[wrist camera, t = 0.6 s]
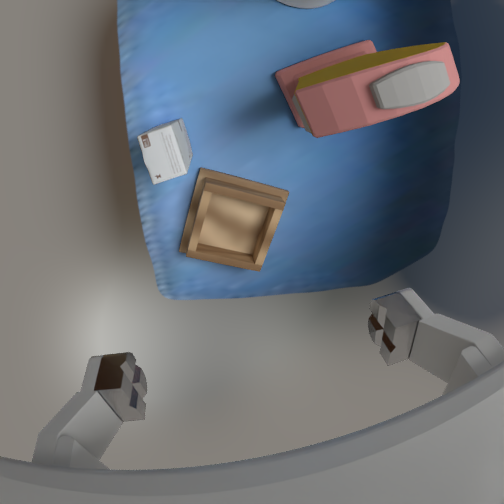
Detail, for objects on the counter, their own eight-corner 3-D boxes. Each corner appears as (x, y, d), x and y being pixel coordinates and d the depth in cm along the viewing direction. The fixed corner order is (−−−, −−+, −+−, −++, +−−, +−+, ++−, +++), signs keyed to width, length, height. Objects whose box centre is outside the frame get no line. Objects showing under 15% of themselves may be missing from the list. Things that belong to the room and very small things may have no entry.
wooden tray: (200, 167, 45) (200, 173, 42) (288, 190, 49) (294, 198, 46) (179, 249, 51) (178, 260, 48) (259, 266, 55) (263, 278, 52)
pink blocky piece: (282, 135, 45) (341, 170, 26) (256, 80, 40) (300, 70, 22) (399, 87, 43) (496, 102, 24) (379, 36, 38) (475, 24, 20)
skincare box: (194, 154, 44) (191, 175, 34) (165, 164, 44) (153, 188, 34) (182, 115, 41) (174, 123, 31) (152, 125, 41) (135, 136, 31)
